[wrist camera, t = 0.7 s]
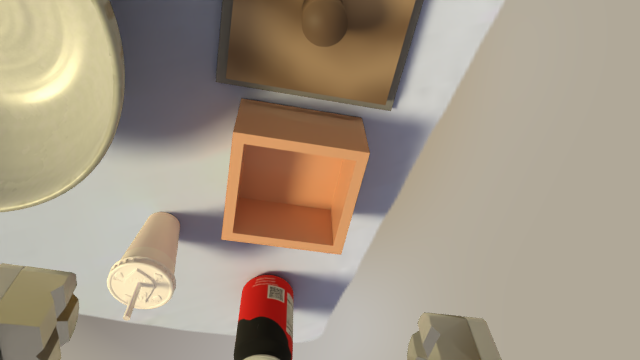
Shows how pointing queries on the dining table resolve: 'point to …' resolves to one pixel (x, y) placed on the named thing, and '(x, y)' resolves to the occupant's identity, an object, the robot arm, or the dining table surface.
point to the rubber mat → (221, 77)
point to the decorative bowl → (56, 95)
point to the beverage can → (265, 320)
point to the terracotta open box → (293, 177)
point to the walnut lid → (319, 45)
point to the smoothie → (147, 266)
